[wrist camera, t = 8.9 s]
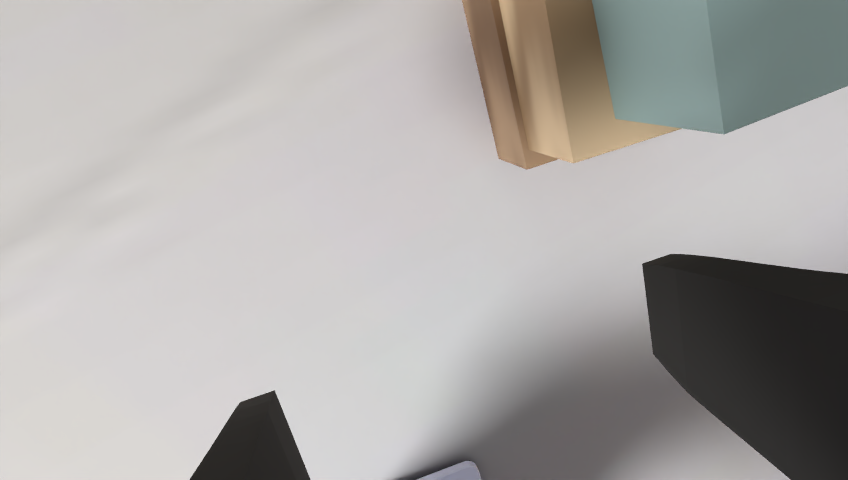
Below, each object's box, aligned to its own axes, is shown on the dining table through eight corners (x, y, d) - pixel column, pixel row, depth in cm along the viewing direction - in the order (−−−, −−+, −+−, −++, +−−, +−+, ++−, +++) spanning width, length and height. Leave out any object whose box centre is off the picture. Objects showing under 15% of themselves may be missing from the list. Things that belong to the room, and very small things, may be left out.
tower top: (695, 97, 19) (767, 101, 16) (528, 149, 18) (573, 163, 15) (675, -105, 17) (752, -141, 14) (486, -56, 16) (530, -85, 13)
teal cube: (744, 69, 16) (890, 68, 12) (615, 118, 15) (724, 134, 11) (727, -90, 14) (884, -147, 10) (583, -42, 14) (695, -84, 10)
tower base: (663, 102, 22) (718, 106, 19) (494, 156, 21) (527, 169, 18) (636, -99, 20) (695, -128, 17) (446, -48, 19) (475, -70, 16)
